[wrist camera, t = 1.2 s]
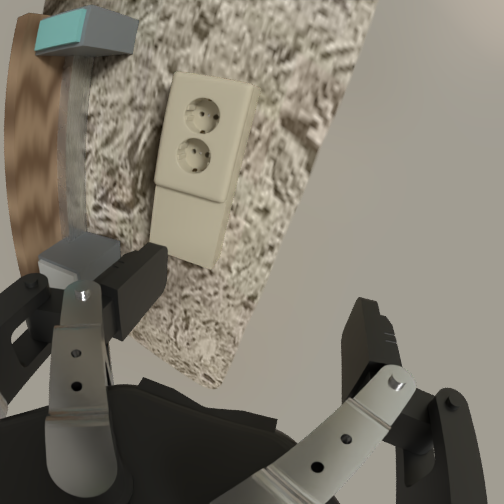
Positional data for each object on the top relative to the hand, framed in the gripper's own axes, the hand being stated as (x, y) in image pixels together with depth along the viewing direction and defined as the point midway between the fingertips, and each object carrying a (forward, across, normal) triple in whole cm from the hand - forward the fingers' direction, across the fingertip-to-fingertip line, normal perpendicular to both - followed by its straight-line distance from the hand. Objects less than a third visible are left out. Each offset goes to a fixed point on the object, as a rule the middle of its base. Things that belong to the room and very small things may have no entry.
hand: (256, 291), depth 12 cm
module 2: (+19, +22, +13) cm, 32 cm away
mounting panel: (+18, +27, 0) cm, 33 cm away
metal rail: (+18, +25, 0) cm, 31 cm away
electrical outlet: (+19, +9, 0) cm, 21 cm away
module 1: (+18, +22, -13) cm, 32 cm away
